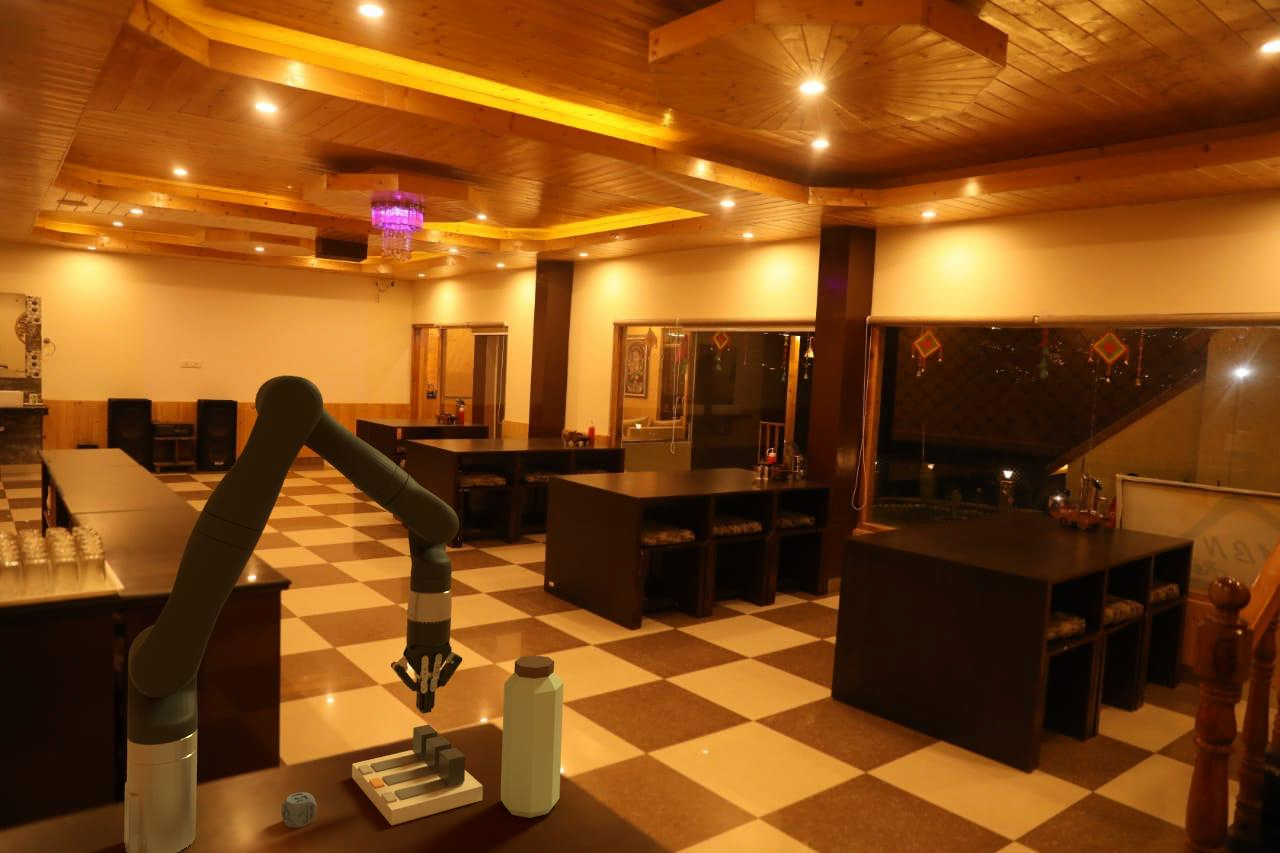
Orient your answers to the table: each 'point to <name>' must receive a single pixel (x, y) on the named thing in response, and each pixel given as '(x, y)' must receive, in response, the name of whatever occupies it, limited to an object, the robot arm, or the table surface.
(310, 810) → the decorative dice
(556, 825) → the table surface
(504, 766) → the water bottle
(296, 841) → the table surface
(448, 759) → the block
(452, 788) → the breaker panel
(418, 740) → the block
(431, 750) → the block
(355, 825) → the table surface
